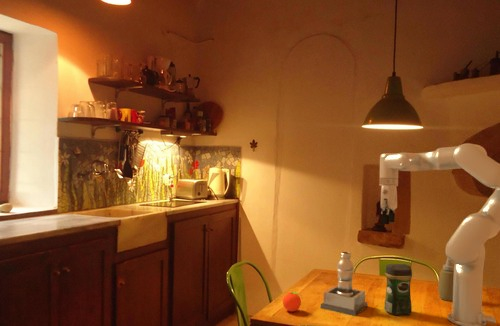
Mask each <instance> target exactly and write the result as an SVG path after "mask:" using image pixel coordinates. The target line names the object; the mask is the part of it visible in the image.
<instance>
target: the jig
mask: <svg viewBox="0 0 500 326" xmlns="http://www.w3.org/2000/svg"><path fill="white" fill-rule="evenodd" d="M352 289H353V296H354V297H348V296H343V295H338V294H337V290H338V285H334V286H332V287H331V288H329V289H328V290H325V291H324V292H323V300H322V301H323V302H322V303H320V309H322V310H323V309H324V310H328V311H333V312H336V313H340V314H345V315H351V316H355V317H356V316H357V315H359V314H360V313H361V312H362V311H364V309H366V308H367V307H368V302H367V301H365V300H366V299H365V298H366V291H365V290H361V289H355V288H352Z"/></svg>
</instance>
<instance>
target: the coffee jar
mask: <svg viewBox="0 0 500 326" xmlns="http://www.w3.org/2000/svg"><path fill="white" fill-rule="evenodd" d="M384 273H385V277H386V291H385V292H386V293H385V299H384V310H385V312H387V314H391V315H394V316H406V315H407V316H408V315H411V314H412V299H411V298H412V297H411V296H412V295H411V281H412V278H413V272H412V267H411V266H410V265H408V264H406V263H396V264H393V263H391V264H386V266H385V272H384Z"/></svg>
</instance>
